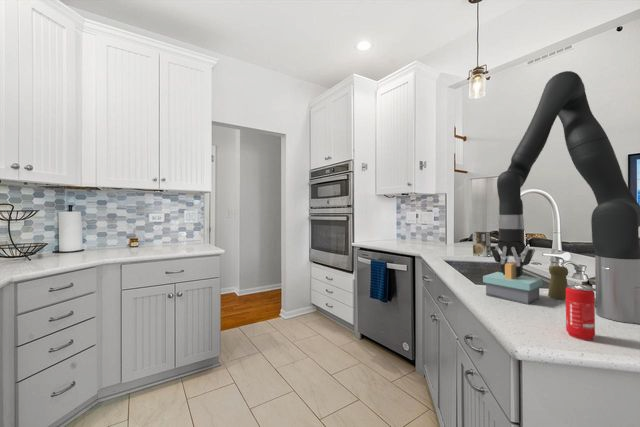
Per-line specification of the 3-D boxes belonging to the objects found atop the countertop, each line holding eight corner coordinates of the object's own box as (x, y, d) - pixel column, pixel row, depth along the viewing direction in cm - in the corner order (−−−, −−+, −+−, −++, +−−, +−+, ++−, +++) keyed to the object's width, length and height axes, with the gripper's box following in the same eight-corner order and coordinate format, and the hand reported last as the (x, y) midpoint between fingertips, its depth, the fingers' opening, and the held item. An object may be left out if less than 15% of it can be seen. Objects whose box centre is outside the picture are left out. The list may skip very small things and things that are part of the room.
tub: (539, 298, 98) (539, 281, 98) (528, 304, 92) (527, 286, 92) (498, 290, 108) (498, 274, 108) (486, 295, 103) (485, 278, 103)
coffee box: (491, 256, 188) (491, 231, 188) (486, 257, 184) (486, 232, 184) (477, 254, 196) (477, 231, 195) (472, 255, 192) (472, 231, 192)
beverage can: (572, 339, 67) (571, 289, 67) (562, 330, 72) (561, 283, 72) (600, 342, 65) (599, 291, 65) (588, 333, 70) (587, 285, 70)
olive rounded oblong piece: (574, 300, 95) (574, 268, 95) (554, 299, 97) (553, 267, 97) (563, 295, 101) (562, 264, 101) (544, 294, 103) (543, 264, 102)
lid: (542, 285, 98) (542, 264, 98) (529, 290, 91) (529, 268, 91) (497, 277, 109) (496, 259, 109) (483, 282, 103) (482, 262, 103)
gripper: (539, 227, 96) (539, 277, 97) (494, 226, 108) (495, 271, 108) (530, 228, 92) (531, 281, 92) (485, 227, 104) (485, 273, 104)
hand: (511, 275), depth 100 cm, fingers open, 3 cm apart
